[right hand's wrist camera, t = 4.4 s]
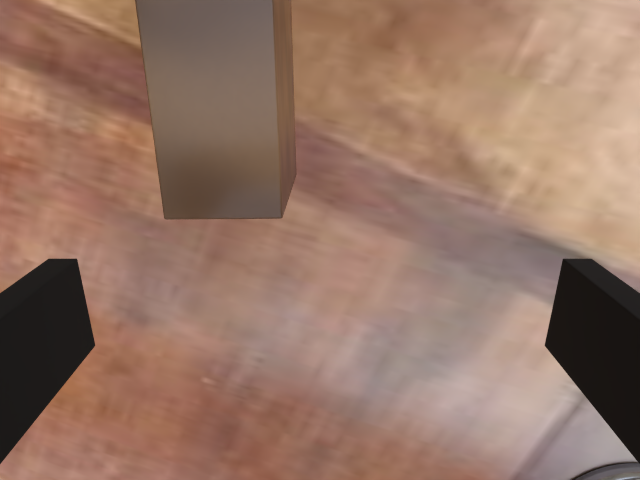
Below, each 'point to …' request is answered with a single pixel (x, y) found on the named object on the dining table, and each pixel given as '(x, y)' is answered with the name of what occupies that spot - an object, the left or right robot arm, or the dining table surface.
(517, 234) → the dining table surface
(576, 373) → the right robot arm
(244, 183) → the bar
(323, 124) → the dining table surface
